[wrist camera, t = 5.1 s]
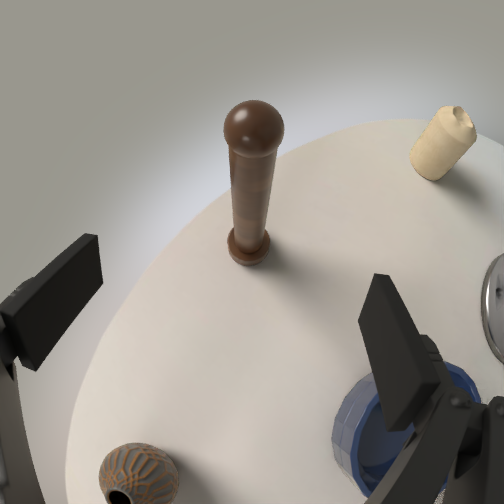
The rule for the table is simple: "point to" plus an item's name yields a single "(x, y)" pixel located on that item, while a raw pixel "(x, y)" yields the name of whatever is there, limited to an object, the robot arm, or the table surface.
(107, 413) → the table surface
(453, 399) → the robot arm
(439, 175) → the candle
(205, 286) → the table surface
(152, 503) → the vase
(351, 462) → the blue bowl
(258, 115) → the brown wooden post
